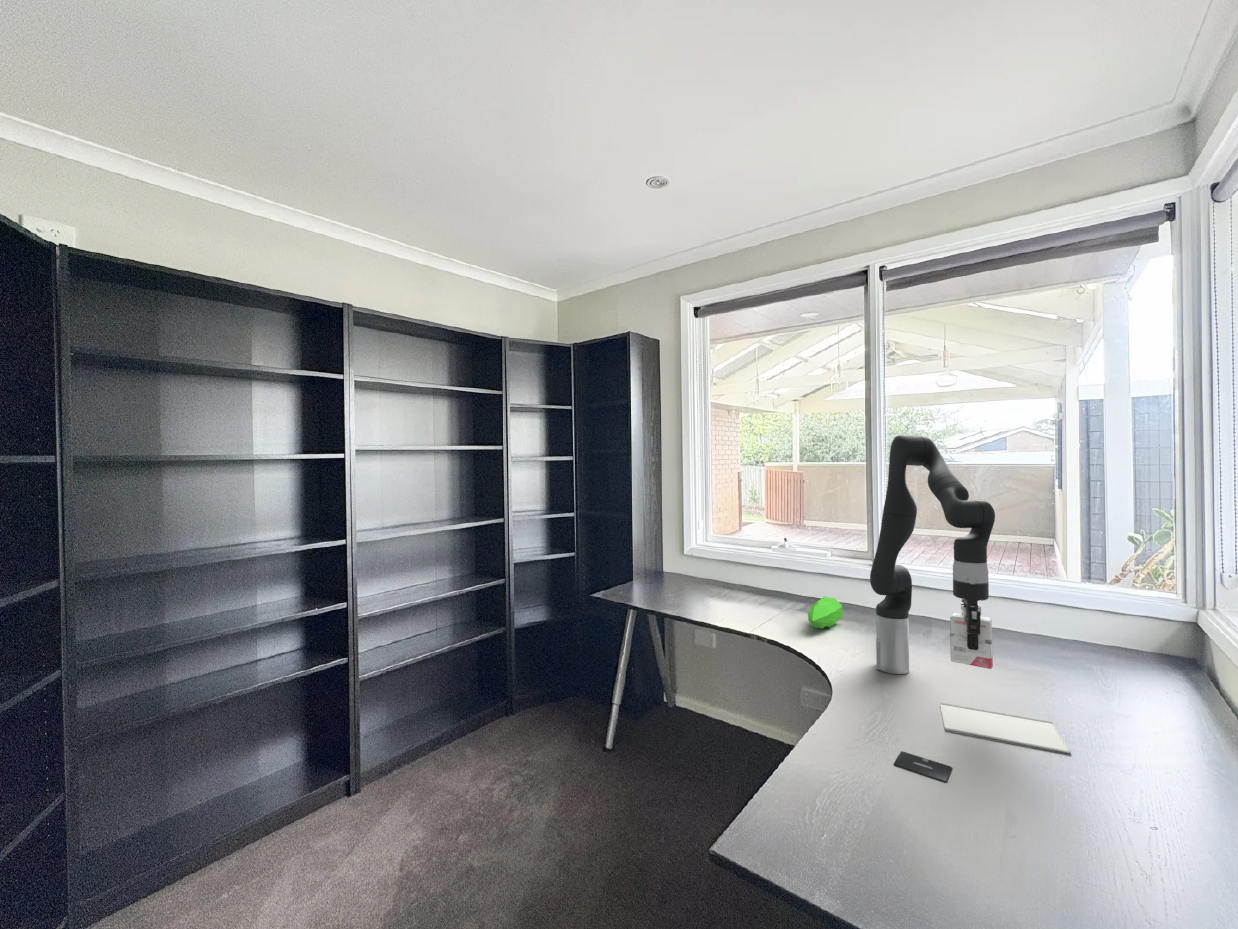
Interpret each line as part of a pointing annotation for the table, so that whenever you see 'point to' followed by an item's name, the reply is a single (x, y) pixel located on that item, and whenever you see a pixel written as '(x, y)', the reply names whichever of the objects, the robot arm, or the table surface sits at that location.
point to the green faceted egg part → (825, 612)
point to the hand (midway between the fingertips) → (971, 645)
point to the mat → (1003, 728)
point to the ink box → (959, 642)
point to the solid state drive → (923, 766)
